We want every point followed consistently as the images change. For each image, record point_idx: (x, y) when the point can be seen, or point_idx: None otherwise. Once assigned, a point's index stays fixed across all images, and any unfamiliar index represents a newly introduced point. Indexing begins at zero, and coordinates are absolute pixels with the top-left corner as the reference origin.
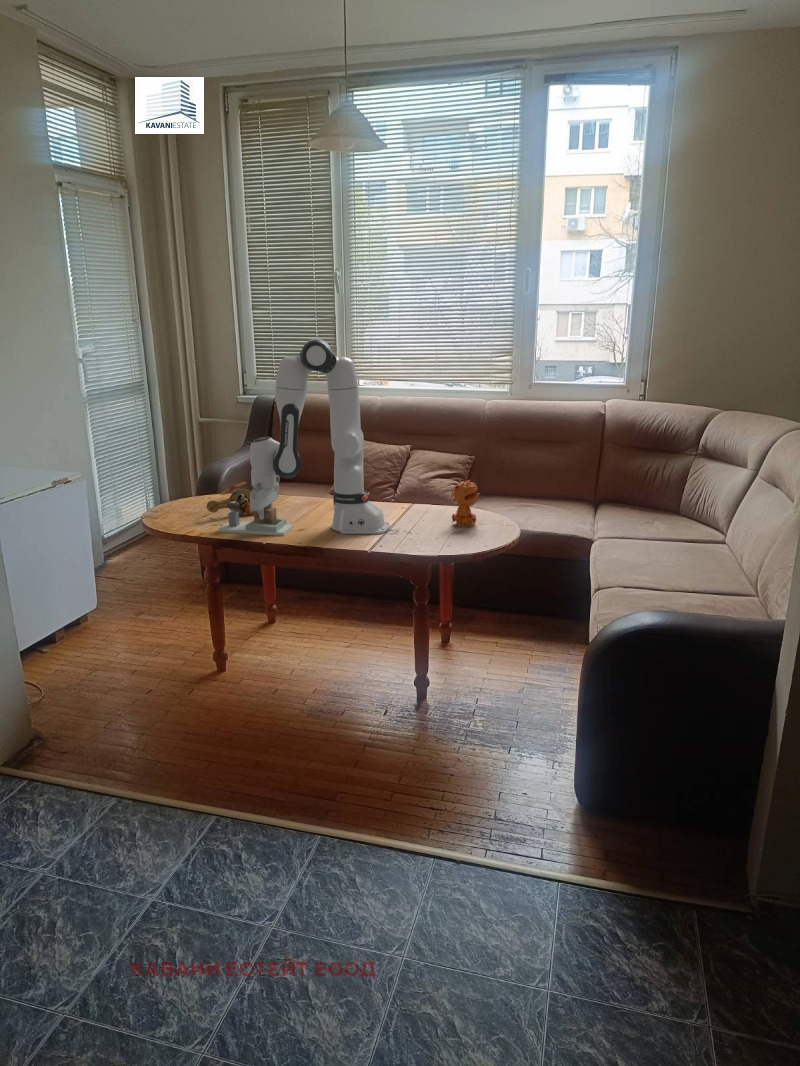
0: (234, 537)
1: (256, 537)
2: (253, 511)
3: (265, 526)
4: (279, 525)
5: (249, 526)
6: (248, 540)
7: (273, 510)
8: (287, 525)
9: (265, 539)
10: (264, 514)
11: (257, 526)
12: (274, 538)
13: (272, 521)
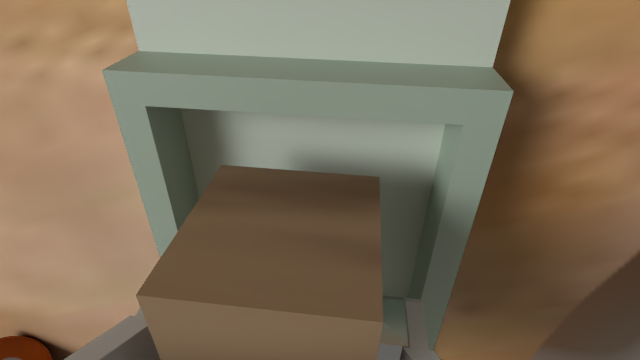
0: (519, 337)
1: (540, 216)
2: (6, 355)
3: (474, 217)
4: (370, 78)
5: (435, 330)
6: (629, 251)
7: (275, 295)
8: (184, 19)
9: (633, 125)
10: (392, 342)
11: (453, 281)
12: (613, 38)
13: (358, 190)
